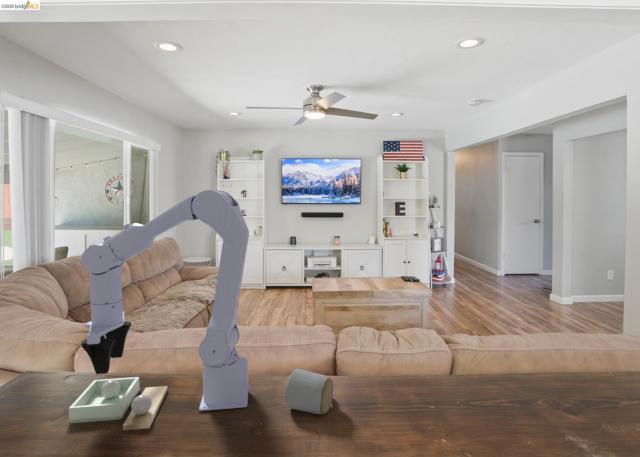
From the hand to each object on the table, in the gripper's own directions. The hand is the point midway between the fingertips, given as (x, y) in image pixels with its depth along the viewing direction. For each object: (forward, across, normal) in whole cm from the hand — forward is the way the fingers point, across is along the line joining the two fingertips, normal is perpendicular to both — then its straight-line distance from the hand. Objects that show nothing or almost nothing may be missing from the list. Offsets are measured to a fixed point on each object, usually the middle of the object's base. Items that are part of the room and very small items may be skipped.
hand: (109, 364), depth 79 cm
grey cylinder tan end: (+8, +8, +41) cm, 43 cm away
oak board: (+8, +4, +8) cm, 12 cm away
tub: (+8, +2, 0) cm, 8 cm away
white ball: (+5, 0, 0) cm, 5 cm away
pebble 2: (+5, +8, +8) cm, 13 cm away
